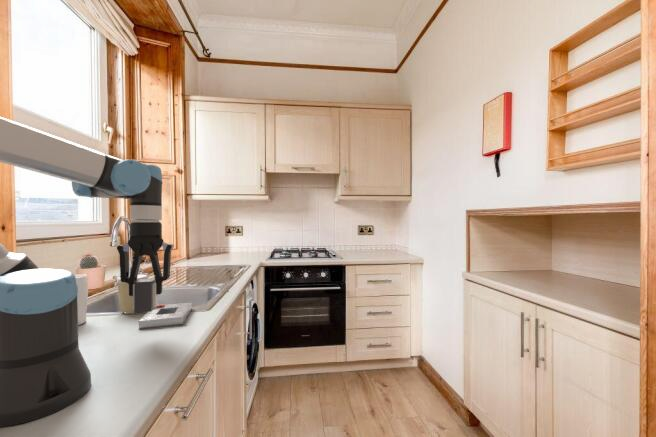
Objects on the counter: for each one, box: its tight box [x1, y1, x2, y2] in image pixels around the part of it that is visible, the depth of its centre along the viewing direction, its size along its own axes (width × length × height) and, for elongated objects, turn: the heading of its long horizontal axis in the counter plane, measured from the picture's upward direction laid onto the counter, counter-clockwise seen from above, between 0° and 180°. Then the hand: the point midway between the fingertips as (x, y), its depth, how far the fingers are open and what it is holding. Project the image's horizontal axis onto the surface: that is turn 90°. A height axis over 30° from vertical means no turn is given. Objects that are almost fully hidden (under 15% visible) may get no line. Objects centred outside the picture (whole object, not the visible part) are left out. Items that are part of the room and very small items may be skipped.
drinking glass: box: [74, 273, 89, 326], centre depth 96 cm, size 7×7×15 cm
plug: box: [133, 277, 156, 314], centre depth 84 cm, size 5×4×8 cm
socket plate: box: [138, 302, 193, 330], centre depth 100 cm, size 16×12×3 cm
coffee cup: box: [116, 273, 149, 315], centre depth 109 cm, size 9×9×12 cm
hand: (145, 306), depth 84 cm, fingers closed on plug, 4 cm apart
